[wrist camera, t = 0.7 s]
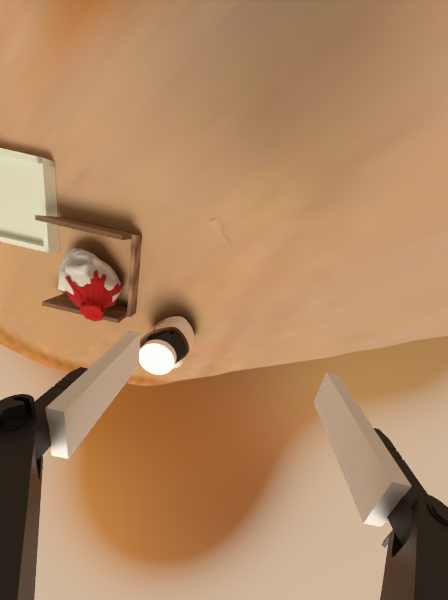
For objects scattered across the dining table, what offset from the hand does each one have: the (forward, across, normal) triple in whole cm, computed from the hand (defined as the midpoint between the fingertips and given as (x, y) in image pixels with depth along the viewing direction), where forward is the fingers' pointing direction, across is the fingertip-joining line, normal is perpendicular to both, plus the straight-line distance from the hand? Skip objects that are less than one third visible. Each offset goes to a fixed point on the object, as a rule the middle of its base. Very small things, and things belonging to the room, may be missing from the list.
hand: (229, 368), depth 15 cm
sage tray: (+31, -46, +6) cm, 56 cm away
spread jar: (+31, -12, -18) cm, 38 cm away
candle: (+31, -32, -4) cm, 45 cm away
